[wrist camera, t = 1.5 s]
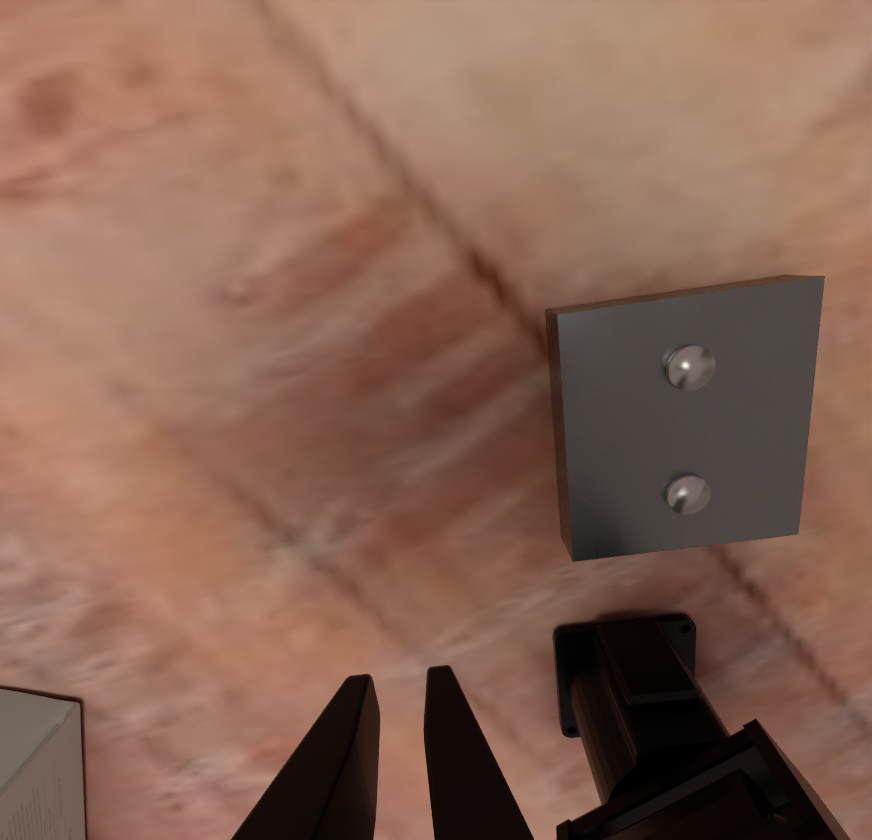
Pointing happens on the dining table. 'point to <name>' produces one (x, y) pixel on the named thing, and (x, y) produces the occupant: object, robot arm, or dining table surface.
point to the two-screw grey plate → (683, 415)
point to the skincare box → (40, 768)
